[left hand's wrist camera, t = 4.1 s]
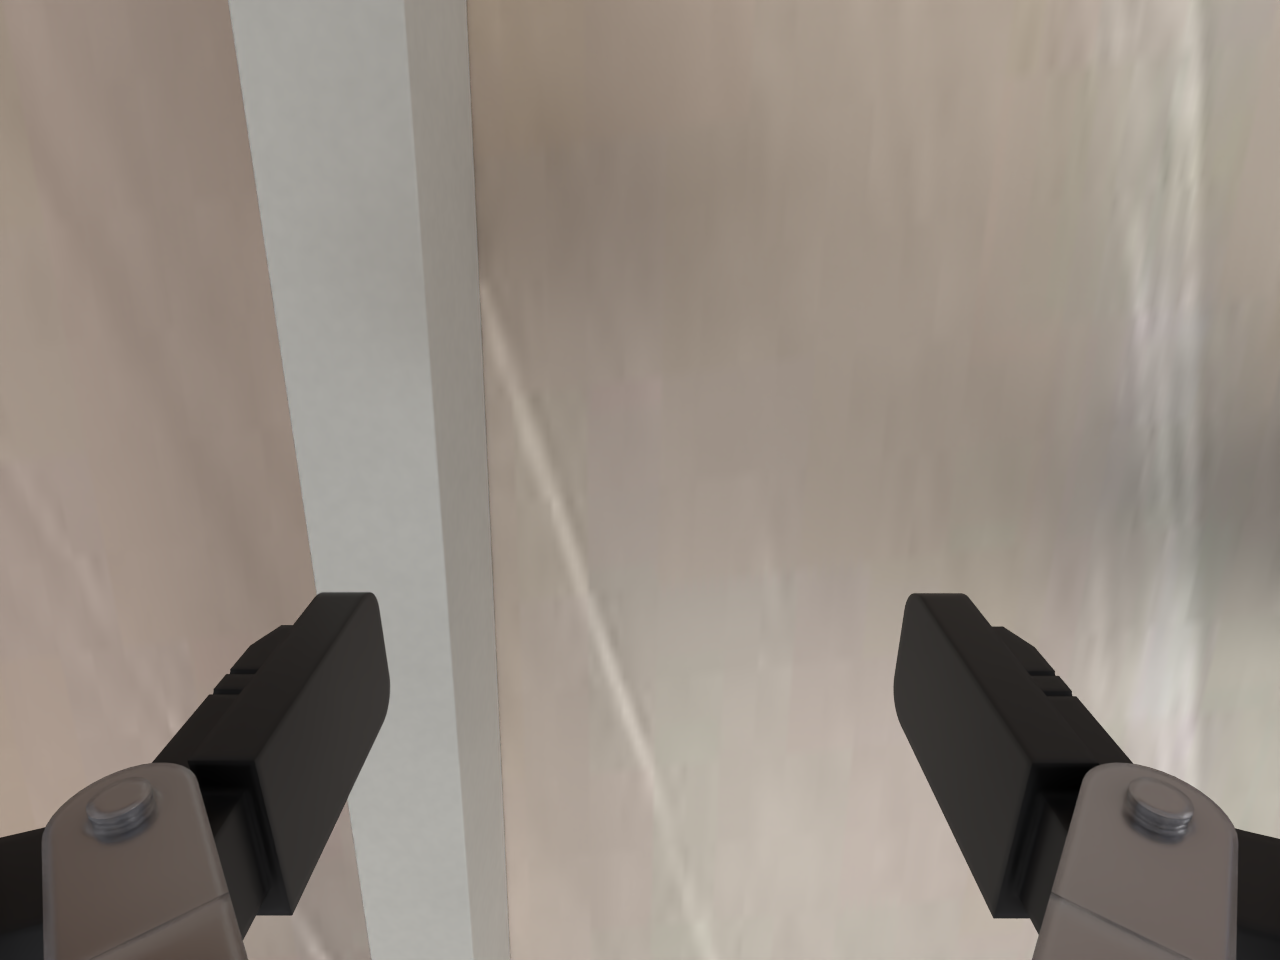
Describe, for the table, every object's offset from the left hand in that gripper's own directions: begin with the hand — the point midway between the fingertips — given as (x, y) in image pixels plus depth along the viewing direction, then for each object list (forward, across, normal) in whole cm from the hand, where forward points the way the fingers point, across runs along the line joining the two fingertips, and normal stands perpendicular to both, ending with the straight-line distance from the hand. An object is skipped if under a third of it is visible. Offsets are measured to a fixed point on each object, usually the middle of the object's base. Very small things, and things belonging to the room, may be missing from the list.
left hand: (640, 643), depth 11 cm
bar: (+19, +9, +15) cm, 25 cm away
